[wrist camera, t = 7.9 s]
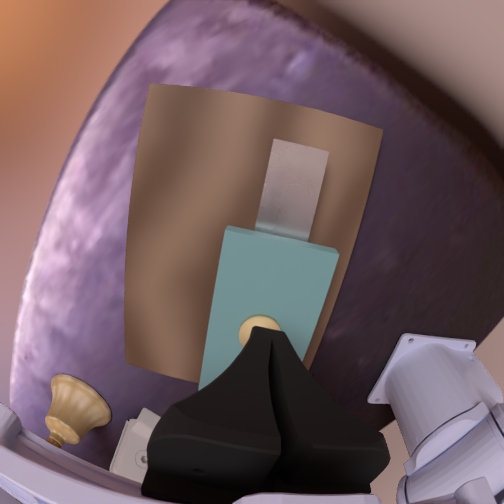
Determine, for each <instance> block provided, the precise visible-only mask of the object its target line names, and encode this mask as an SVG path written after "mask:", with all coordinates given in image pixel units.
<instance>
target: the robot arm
mask: <svg viewBox="0 0 504 504" xmlns="http://www.w3.org/2000/svg"><path fill="white" fill-rule="evenodd" d="M411 338H412V339H411ZM409 339H411V340H410V341H409ZM475 346H476V342H475V341H473V340H463V339H453V338H444V337H435V336H426V335H418V334H410V333H405V334H403V335H402V336H401V337H400V339H399V341H398V343H397V345H396V347H395V349H394V351H393V353H392V355H391V357H390V359H389V360H388V362H387V364H386V366H385V368H384V370H383V372H382V373H381V375H380V377H379V379H378V380H377V382H376V384H375V386H374V387H373V389H372V391H371V393H370V394H369V396H368V398H367V400H368V402H369V403H380V404H390V405H391V407H392V410H393V413H394V415H395V418H396V420H397V423H398V426H399V428H400V431H401V434H402V436H403V439H404V442H405V445H406V447H407V450H408V453H409V455H410V459H409V460H408V461H407V462H405V463H404V467H405V471H406V475H405V476H403V477H402V478H401V480H400V481H399V484H398V489H397V495H396V501H397V504H504V403H503V396H502V392H501V389H500V387H499V385H498V384H497V383H496V381H495V380H494V379H493V378H492V376H491V375H490V373H489V372H488V371H487V370H486V368H485V367H484V366H483V364H482V363H481V362H480V361H479V359H478V358H477V357H476V356H475V355H474V353H473V350H474V348H475ZM377 398H378V399H377ZM146 449H147V466H148V468H147V471H146V474H145V477H144V480H143V483H139V482H136V481H133V480H131V479H128V478H125V477H122V476H120V475H117V474H114V473H112V472H109V471H107V470H105V469H102V468H100V467H97V466H95V465H93V464H91V463H88V462H86V461H84V460H82V459H80V458H78V457H76V456H73V455H71V454H69V453H67V452H65V451H64V450H62V449H60V448H58V447H56V446H54V445H52V444H50V443H49V442H47V441H45V440H43V439H42V438H40V437H38V436H36V435H35V434H33V433H31V432H30V431H28V430H27V429H25V428H23V427H22V424H21V421H20V419H19V417H18V416H17V415H16V414H15V412H14V411H12V410H11V409H10V408H8V407H7V406H6V405H4V404H3V403H1V402H0V487H1V488H2V489H4V490H5V491H6V492H8V493H9V494H11V495H12V496H13V497H15V498H16V499H17V500H19V501H20V502H22V503H23V504H382V502H381V499H380V498H379V497H378V496H377V495H374V494H370V493H371V488H370V483H371V482H372V481H373V480H374V479H375V478H376V477H377V476H378V475H379V474H380V473H381V472H382V471H383V470H384V469H385V468H386V467H387V465H388V464H389V461H390V454H389V450H388V447H387V443H386V441H385V438H384V435H383V434H382V433H381V432H379V431H377V430H375V429H373V428H372V427H370V426H368V425H366V424H365V423H363V422H361V421H360V420H359V419H357V418H356V417H354V416H353V415H351V414H350V413H349V412H347V411H346V410H345V409H344V408H342V407H341V406H340V405H339V404H338V403H337V402H336V401H334V400H333V399H332V398H331V397H330V396H329V395H328V394H327V393H326V392H325V391H324V390H323V389H322V387H321V386H320V385H319V384H318V383H317V382H316V381H315V379H314V378H313V377H312V375H311V374H310V373H309V371H308V370H307V369H306V367H305V366H304V364H303V363H302V361H301V360H300V358H299V356H298V355H297V353H296V351H295V349H294V348H293V346H292V344H291V342H290V340H289V339H288V337H287V335H286V333H285V332H284V331H279V330H274V329H269V328H265V327H260V326H254V327H252V330H251V333H250V337H249V339H248V341H247V343H246V344H245V346H244V348H243V349H242V351H241V352H240V353H239V355H238V356H237V357H236V358H235V360H234V361H233V362H232V363H231V364H230V365H229V367H228V368H227V369H226V370H225V371H224V372H223V373H221V374H220V375H219V376H218V377H217V378H216V379H214V380H213V381H212V382H211V383H209V384H208V385H207V386H205V387H204V388H202V389H201V390H199V391H197V392H196V393H194V394H193V395H191V396H189V397H187V398H185V399H183V400H181V401H179V402H177V403H174V404H172V405H171V406H170V407H169V408H168V410H167V411H166V412H165V413H164V414H163V416H162V417H161V418H160V420H159V421H158V422H157V424H156V426H155V427H154V429H153V431H152V433H151V436H150V438H149V441H148V444H147V448H146Z"/></svg>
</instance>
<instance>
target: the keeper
mask: <svg viewBox="0 0 504 504" xmlns="http://www.w3.org/2000/svg"><path fill="white" fill-rule="evenodd" d="M338 258H339V253H338V252H337V250H336V249H335V248H330V247H326V246H322V245H317V244H313V243H308V242H304V241H299V240H295V239H290V238H286V237H281V236H276V235H272V234H267V233H262V232H258V231H253V230H248V229H244V228H239V227H234V226H229V225H227V227H226V229H225V233H224V238H223V243H222V249H221V254H220V260H219V266H218V271H217V277H216V283H215V289H214V295H213V300H212V306H211V312H210V318H209V325H208V331H207V337H206V343H205V350H204V356H203V363H202V370H201V376H200V383H199V390H201V389H202V388H204V387H205V386H207V385H208V384H209V383H211V382H212V381H213V380H214V379H216V378H217V377H218V376H219V375H220V374H221V373H223V372H224V371H225V370H226V369H227V368H228V367H229V365H230V364H231V363H232V362H233V361H234V360H235V358H236V357H237V356H238V355H239V353H240V352H241V351H242V349H243V348H244V346H245V344H246V343H247V341H248V339H249V337H250V333H251V330H252V327H254V326H260V327H265V328H269V329H274V330H279V331H284V332H285V333H286V335H287V337H288V339H289V340H290V342H291V344H292V346H293V348H294V349H295V351H296V353H297V355H298V356H299V358H300V360H301V361H303V359H304V356H305V354H306V351H307V348H308V346H309V343H310V340H311V338H312V335H313V332H314V329H315V327H316V324H317V321H318V318H319V315H320V313H321V310H322V307H323V304H324V301H325V298H326V295H327V292H328V289H329V286H330V283H331V280H332V277H333V274H334V271H335V267H336V264H337V261H338ZM199 390H198V391H199Z"/></svg>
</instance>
